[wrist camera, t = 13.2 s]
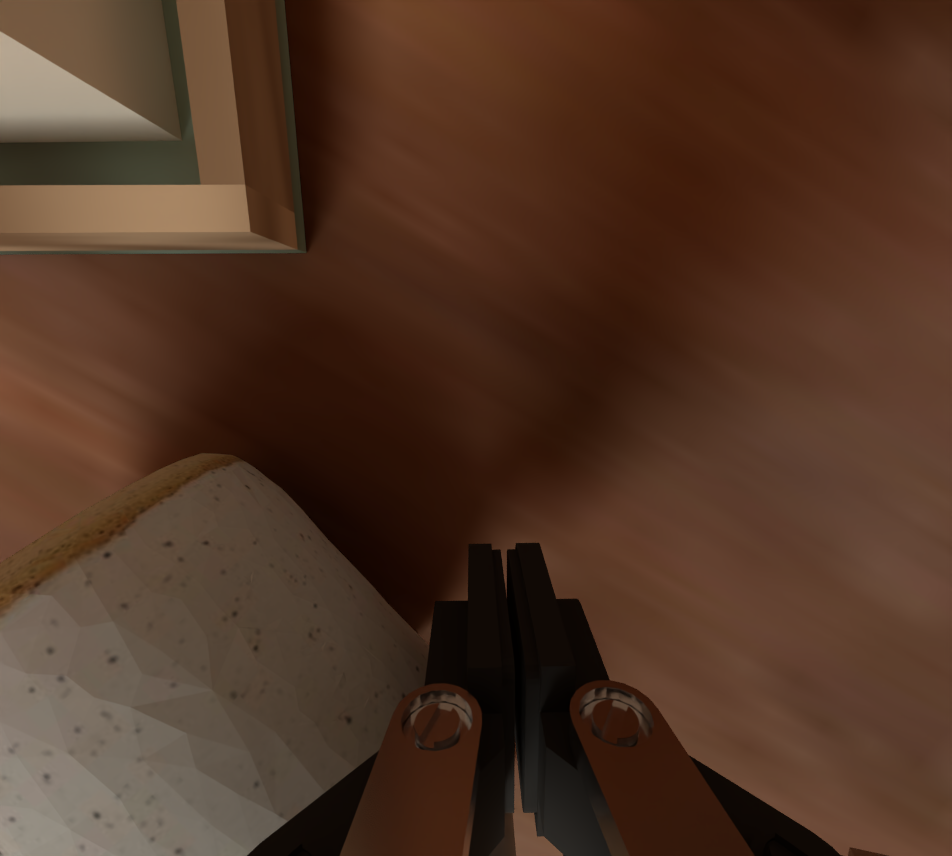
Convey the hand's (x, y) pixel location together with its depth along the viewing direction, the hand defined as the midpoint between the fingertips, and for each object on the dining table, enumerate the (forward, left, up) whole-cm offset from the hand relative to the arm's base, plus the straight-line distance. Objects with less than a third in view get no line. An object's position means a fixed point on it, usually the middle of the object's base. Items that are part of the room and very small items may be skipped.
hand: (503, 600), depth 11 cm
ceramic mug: (+7, +2, -3) cm, 8 cm away
